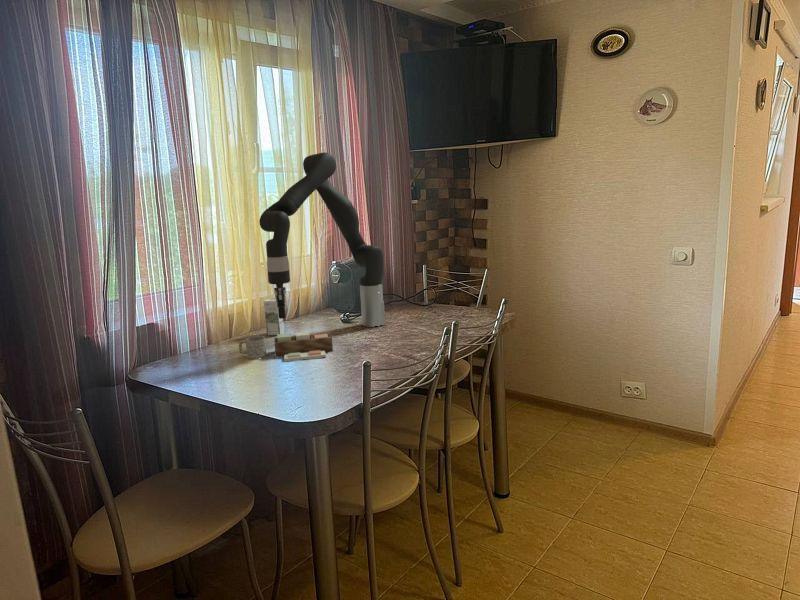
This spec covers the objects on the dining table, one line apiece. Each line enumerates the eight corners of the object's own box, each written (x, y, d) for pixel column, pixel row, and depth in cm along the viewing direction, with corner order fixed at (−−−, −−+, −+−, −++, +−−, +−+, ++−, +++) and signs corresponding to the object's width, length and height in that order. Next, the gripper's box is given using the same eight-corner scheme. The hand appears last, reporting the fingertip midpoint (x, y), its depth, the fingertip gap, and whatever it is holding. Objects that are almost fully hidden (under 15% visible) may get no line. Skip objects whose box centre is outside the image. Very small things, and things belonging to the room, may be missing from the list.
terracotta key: (327, 340, 210) (327, 333, 209) (328, 343, 205) (328, 336, 204) (314, 341, 209) (314, 334, 208) (315, 345, 204) (314, 338, 203)
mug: (269, 354, 204) (268, 336, 203) (260, 359, 198) (258, 341, 197) (245, 353, 207) (243, 335, 206) (235, 358, 201) (233, 340, 199)
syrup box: (284, 332, 234) (281, 297, 232) (280, 335, 229) (277, 300, 226) (271, 332, 235) (267, 297, 232) (266, 336, 229) (263, 300, 226)
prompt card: (324, 353, 202) (324, 348, 202) (326, 357, 197) (325, 352, 197) (284, 357, 199) (284, 353, 199) (284, 361, 195) (284, 357, 194)
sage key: (291, 339, 207) (290, 333, 206) (291, 343, 202) (291, 336, 202) (277, 341, 206) (277, 334, 205) (277, 344, 201) (277, 337, 201)
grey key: (309, 338, 208) (309, 331, 207) (310, 341, 203) (309, 334, 203) (296, 339, 207) (295, 332, 206) (296, 342, 202) (296, 335, 202)
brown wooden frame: (330, 345, 212) (329, 332, 211) (332, 351, 204) (331, 337, 203) (275, 350, 208) (274, 337, 207) (275, 357, 200) (274, 343, 199)
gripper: (289, 271, 193) (293, 321, 196) (288, 266, 206) (292, 313, 209) (266, 272, 192) (271, 323, 195) (267, 267, 204) (271, 315, 208)
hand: (282, 317), depth 202 cm, fingers closed
